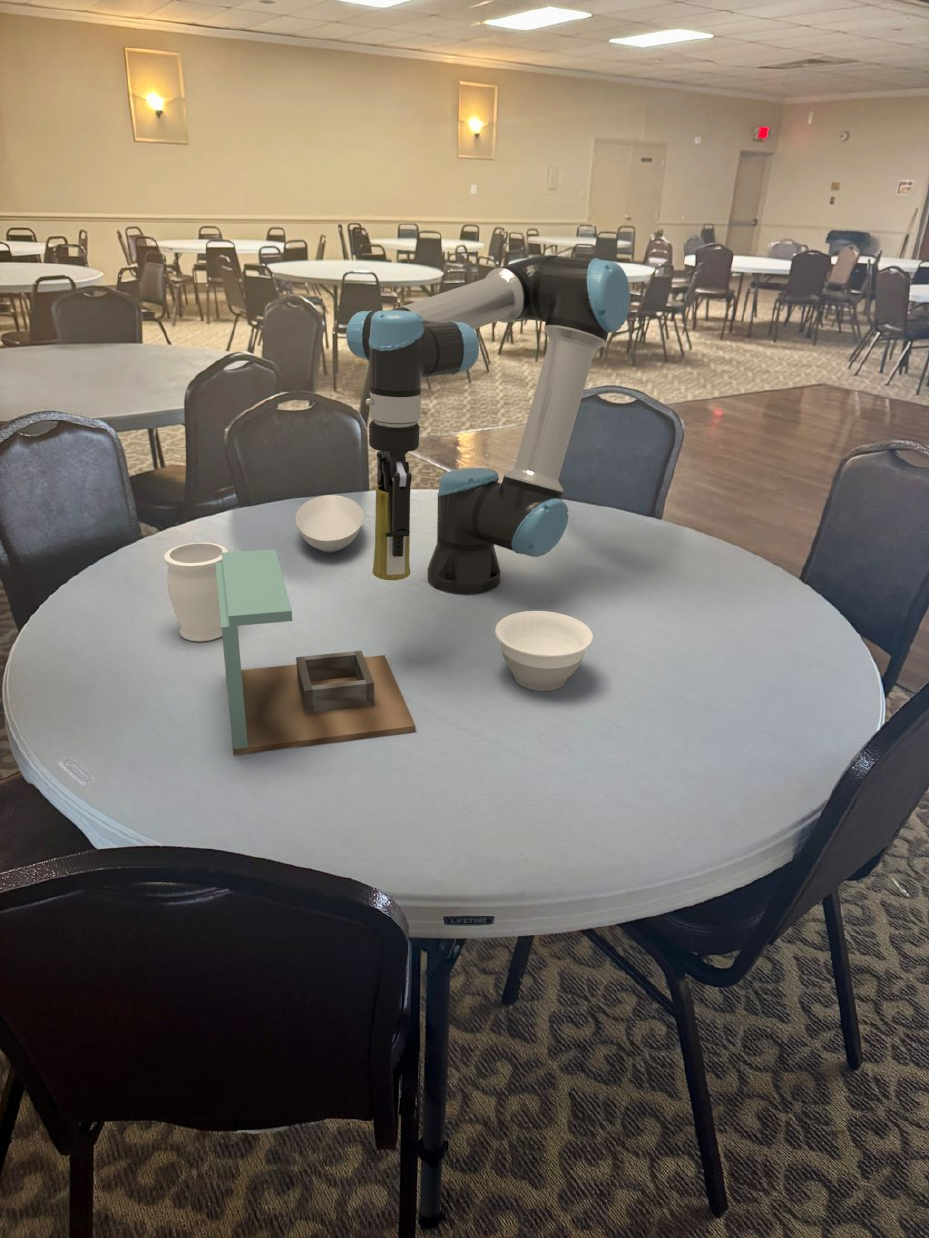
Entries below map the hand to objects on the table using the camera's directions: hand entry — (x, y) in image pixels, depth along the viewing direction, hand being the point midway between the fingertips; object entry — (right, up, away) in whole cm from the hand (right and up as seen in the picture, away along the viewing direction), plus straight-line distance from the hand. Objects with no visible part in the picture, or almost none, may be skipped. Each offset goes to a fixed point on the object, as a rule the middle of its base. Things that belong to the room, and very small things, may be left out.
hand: (391, 565), depth 135 cm
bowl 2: (+24, -18, +5) cm, 31 cm away
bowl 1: (-19, +9, +56) cm, 60 cm away
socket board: (-11, -22, -5) cm, 25 cm away
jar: (-35, -11, +14) cm, 39 cm away
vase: (0, -1, +1) cm, 2 cm away
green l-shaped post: (-19, -21, -8) cm, 30 cm away
